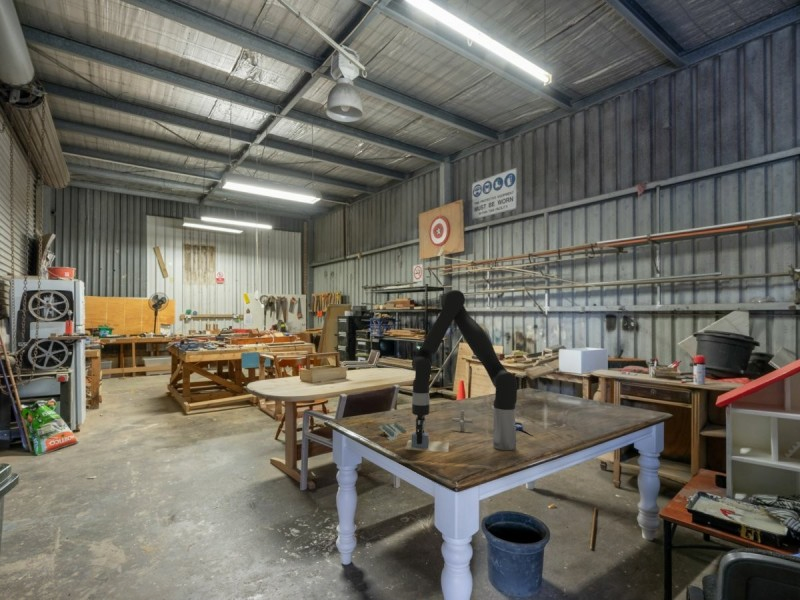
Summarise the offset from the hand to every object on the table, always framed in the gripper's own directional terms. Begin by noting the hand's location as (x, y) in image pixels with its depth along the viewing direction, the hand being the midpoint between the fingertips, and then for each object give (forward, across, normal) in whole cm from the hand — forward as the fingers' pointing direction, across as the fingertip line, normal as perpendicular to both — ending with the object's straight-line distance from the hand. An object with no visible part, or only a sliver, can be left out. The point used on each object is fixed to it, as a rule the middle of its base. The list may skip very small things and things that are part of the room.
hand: (420, 440), depth 171 cm
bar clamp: (+4, +31, -49) cm, 59 cm away
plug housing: (+2, 0, 0) cm, 2 cm away
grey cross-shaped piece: (+4, +31, -18) cm, 36 cm away
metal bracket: (+4, +18, +14) cm, 23 cm away
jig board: (+3, +1, -3) cm, 5 cm away
